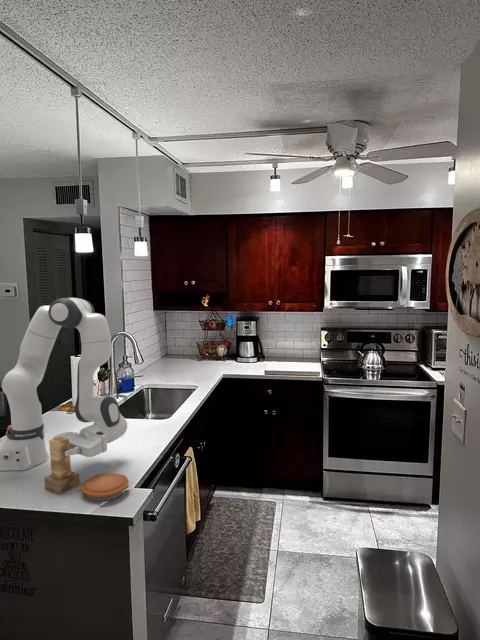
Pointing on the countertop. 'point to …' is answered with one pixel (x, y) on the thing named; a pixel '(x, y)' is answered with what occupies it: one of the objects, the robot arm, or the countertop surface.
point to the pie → (105, 486)
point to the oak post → (59, 457)
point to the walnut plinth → (61, 483)
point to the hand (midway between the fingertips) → (58, 451)
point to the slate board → (93, 471)
